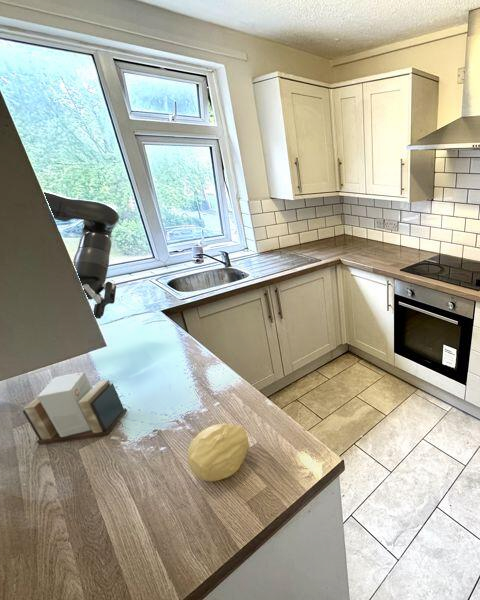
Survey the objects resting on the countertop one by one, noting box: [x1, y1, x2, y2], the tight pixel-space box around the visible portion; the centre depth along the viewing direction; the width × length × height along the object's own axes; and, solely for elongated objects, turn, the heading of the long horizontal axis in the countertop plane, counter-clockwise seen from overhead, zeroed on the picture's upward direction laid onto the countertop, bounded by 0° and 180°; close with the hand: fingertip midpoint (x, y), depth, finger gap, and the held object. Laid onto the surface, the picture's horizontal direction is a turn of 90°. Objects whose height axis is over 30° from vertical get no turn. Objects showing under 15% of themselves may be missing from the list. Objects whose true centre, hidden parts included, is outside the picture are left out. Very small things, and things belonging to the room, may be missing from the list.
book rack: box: [22, 379, 128, 445], centre depth 84 cm, size 15×9×11 cm, turn 101°
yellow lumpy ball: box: [187, 423, 250, 482], centre depth 73 cm, size 11×12×11 cm
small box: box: [37, 371, 93, 437], centre depth 83 cm, size 8×6×13 cm
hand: (78, 319), depth 90 cm, fingers open, 8 cm apart
